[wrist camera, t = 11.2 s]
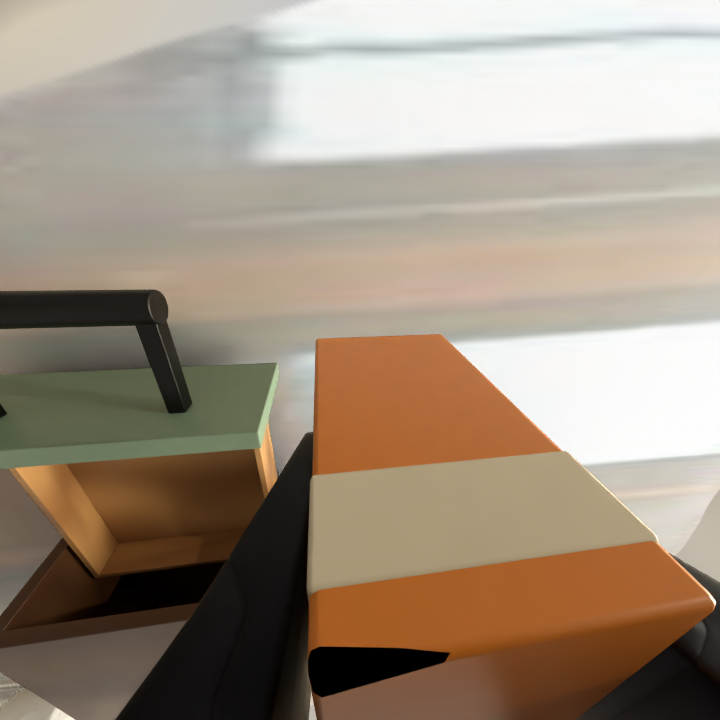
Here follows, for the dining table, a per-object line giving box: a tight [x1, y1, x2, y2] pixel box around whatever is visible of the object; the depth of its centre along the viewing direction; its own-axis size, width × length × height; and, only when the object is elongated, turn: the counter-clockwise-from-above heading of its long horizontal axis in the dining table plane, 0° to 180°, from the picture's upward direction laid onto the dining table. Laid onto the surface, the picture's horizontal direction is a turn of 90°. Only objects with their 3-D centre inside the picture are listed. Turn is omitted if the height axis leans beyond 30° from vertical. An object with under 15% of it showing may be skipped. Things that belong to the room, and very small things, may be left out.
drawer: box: [0, 290, 279, 578], centre depth 16 cm, size 22×16×6 cm
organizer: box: [0, 538, 225, 720], centre depth 23 cm, size 16×16×9 cm
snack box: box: [307, 334, 716, 720], centre depth 6 cm, size 6×3×6 cm, turn 179°
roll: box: [0, 689, 75, 720], centre depth 33 cm, size 6×12×6 cm, turn 107°
